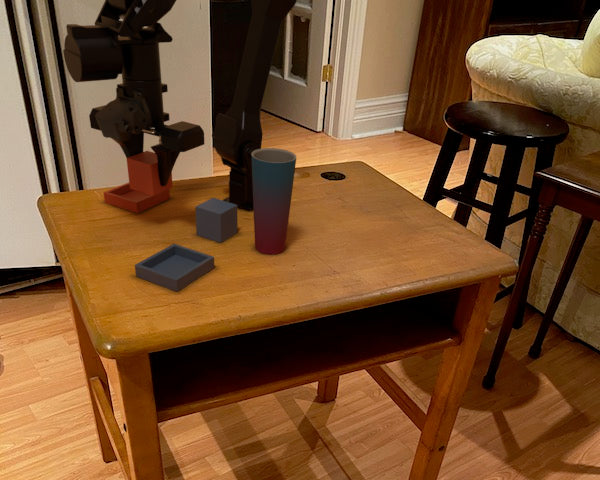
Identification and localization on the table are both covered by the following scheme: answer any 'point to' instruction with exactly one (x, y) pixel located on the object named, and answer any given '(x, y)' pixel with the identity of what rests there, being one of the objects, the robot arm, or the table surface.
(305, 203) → the table surface
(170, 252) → the blue tray
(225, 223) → the blue block
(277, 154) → the cup
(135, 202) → the rust tray
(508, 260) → the table surface
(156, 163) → the rust block
